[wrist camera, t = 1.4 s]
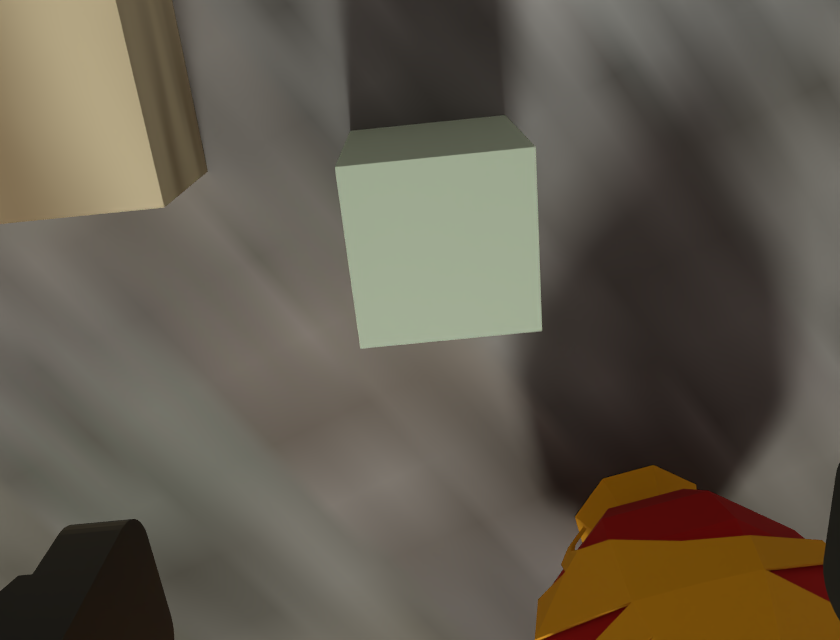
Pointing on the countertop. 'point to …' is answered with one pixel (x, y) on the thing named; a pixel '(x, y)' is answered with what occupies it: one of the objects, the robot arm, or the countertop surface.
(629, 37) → the countertop surface
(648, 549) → the potion bottle
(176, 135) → the oak block
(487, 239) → the sage block
